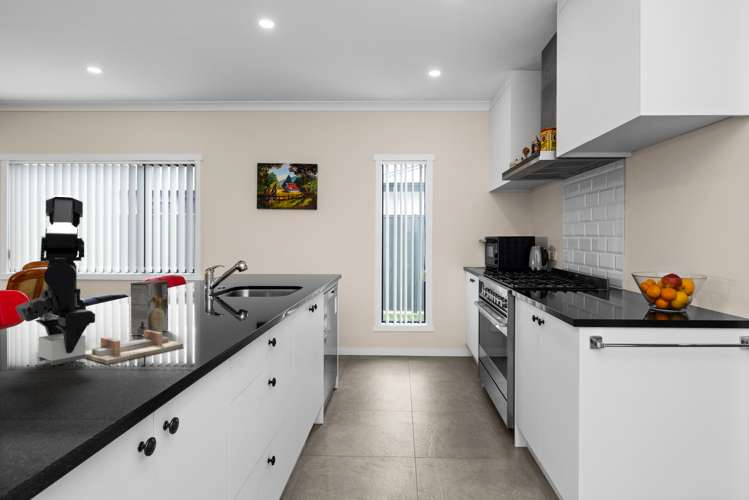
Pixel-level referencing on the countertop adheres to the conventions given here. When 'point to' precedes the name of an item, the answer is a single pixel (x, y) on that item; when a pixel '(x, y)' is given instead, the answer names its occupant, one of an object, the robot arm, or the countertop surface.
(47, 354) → the block
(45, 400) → the countertop surface
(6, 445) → the countertop surface
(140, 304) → the coffee box
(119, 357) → the rail board
